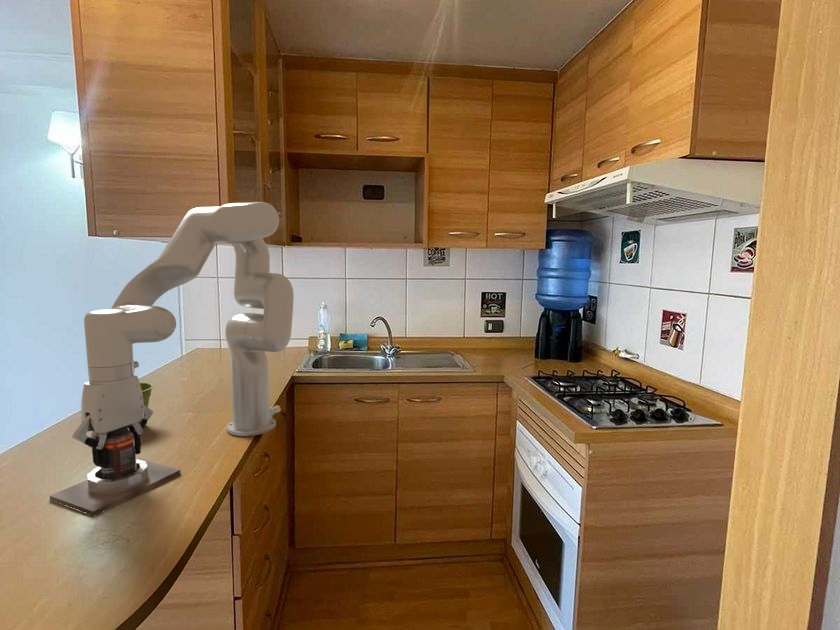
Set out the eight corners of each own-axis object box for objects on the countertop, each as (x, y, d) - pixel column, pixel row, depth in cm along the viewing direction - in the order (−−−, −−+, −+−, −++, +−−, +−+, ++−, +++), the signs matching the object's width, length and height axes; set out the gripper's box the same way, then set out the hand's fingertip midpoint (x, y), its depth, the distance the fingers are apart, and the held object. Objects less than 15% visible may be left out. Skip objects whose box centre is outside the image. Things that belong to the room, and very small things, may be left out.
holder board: (139, 462, 105) (139, 458, 104) (180, 474, 100) (180, 469, 99) (49, 500, 88) (49, 495, 88) (93, 516, 83) (93, 511, 83)
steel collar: (126, 466, 100) (125, 455, 100) (158, 476, 96) (157, 464, 96) (76, 487, 91) (75, 475, 91) (110, 499, 87) (109, 486, 87)
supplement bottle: (143, 470, 97) (139, 419, 95) (126, 485, 91) (122, 429, 89) (114, 470, 97) (110, 418, 95) (95, 485, 91) (90, 429, 89)
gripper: (140, 361, 100) (145, 440, 103) (51, 380, 84) (59, 474, 87) (164, 365, 97) (169, 446, 100) (76, 386, 82) (85, 482, 84)
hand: (118, 458), depth 93 cm, fingers closed on supplement bottle, 6 cm apart
